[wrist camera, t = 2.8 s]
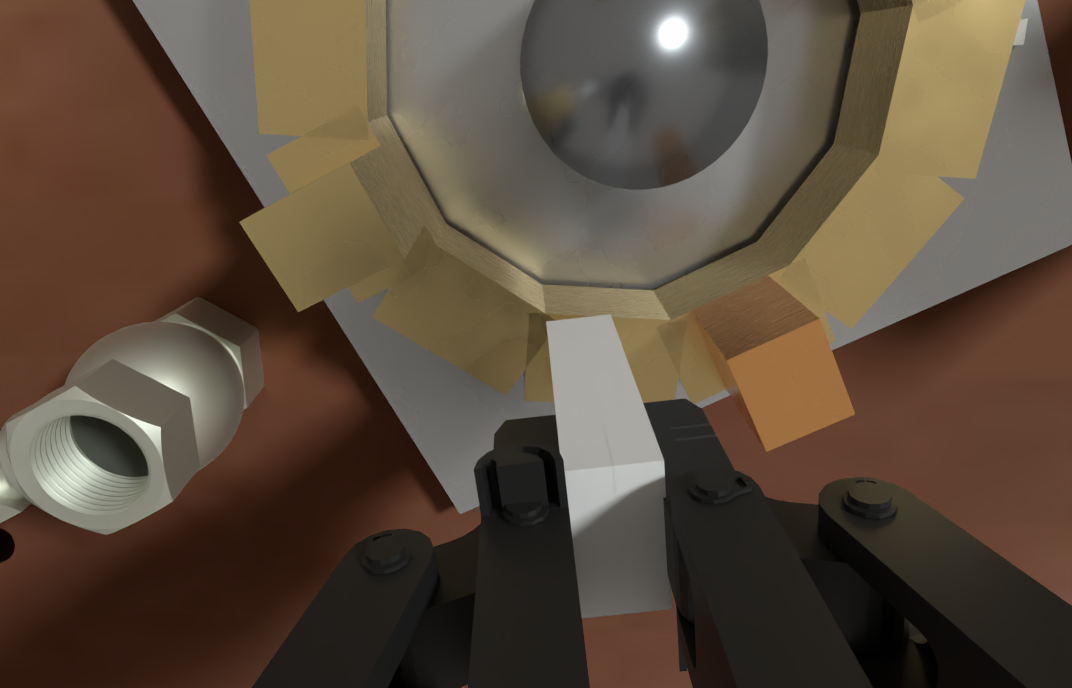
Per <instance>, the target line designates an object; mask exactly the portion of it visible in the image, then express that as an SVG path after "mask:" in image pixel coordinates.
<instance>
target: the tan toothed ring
mask: <svg viewBox="0 0 1072 688" xmlns="http://www.w3.org/2000/svg"><path fill="white" fill-rule="evenodd" d="M1025 1H1026V0H857V2H858V6H859V9H860V12H861V14H860V19H859V24H858V29H857V34H856V39H855V43H854V48H853V53H852V58H851V63H850V68H849V72H848V77H847V82H846V87H845V92H844V97H843V102H842V106H841V111H840V116H839V121H838V126H837V131H836V135H835V140H834V144H833V145H832V147H831V148H830V149H829V151H828V152H827V153H826V154H825V156H824V157H823V158H822V159H821V161H820V162H819V163H818V165H817V166H816V167H815V168H814V170H813V171H812V172H811V174H810V175H809V176H808V177H807V179H806V180H805V181H804V182H803V184H802V185H801V186H800V188H799V189H798V190H797V191H796V193H795V194H794V195H793V197H792V198H791V199H790V200H789V202H788V203H787V204H786V206H785V207H784V208H783V209H782V211H781V212H780V213H779V214H778V216H777V217H776V218H775V220H774V221H773V222H772V223H771V225H770V226H769V227H768V229H767V230H766V231H765V232H764V234H763V235H762V236H761V237H760V239H759V240H758V241H757V242H755V243H753V244H751V245H749V246H747V247H745V248H743V249H741V250H738V251H736V252H734V253H732V254H730V255H728V256H726V257H724V258H721V259H719V260H717V261H715V262H713V263H711V264H709V265H707V266H704V267H702V268H700V269H698V270H696V271H694V272H692V273H690V274H687V275H685V276H683V277H681V278H679V279H677V280H675V281H673V282H670V283H668V284H666V285H664V286H662V287H660V288H658V289H656V290H653V291H652V290H633V289H615V288H596V287H578V286H560V285H542V284H541V283H539V282H538V281H536V280H534V279H533V278H531V277H530V276H528V275H527V274H525V273H523V272H522V271H520V270H519V269H517V268H516V267H514V266H512V265H511V264H509V263H508V262H506V261H505V260H503V259H501V258H500V257H498V256H497V255H495V254H494V253H492V252H490V251H489V250H487V249H486V248H484V247H483V246H481V245H479V244H478V243H476V242H475V241H473V240H471V239H470V238H468V237H467V236H465V235H464V234H462V233H460V232H459V231H457V230H456V229H454V228H453V227H451V226H449V225H448V224H446V222H445V220H444V218H443V217H442V215H441V213H440V211H439V209H438V208H437V206H436V204H435V202H434V200H433V198H432V197H431V195H430V193H429V191H428V189H427V187H426V186H425V184H424V182H423V180H422V178H421V176H420V175H419V173H418V171H417V169H416V167H415V165H414V164H413V162H412V160H411V158H410V156H409V155H408V153H407V151H406V149H405V147H404V145H403V144H402V142H401V140H400V138H399V136H398V134H397V133H396V131H395V129H394V127H393V125H392V123H391V122H390V120H389V118H388V116H387V75H386V0H249V3H250V17H251V30H252V44H253V58H254V71H255V85H256V99H257V112H258V126H259V134H271V135H287V136H301V137H299V138H297V139H295V140H294V141H292V142H290V143H288V144H286V145H284V146H283V147H281V148H279V149H277V150H275V151H273V152H271V153H270V154H268V155H266V156H267V158H268V159H269V161H270V162H271V164H272V166H273V167H274V169H275V171H276V172H277V174H278V175H279V177H280V179H281V180H282V182H283V183H284V185H285V187H286V188H287V190H288V192H289V193H290V194H288V195H286V196H285V197H283V198H281V199H279V200H277V201H276V202H274V203H272V204H270V205H268V206H267V207H265V208H263V209H261V210H259V211H258V212H256V213H254V214H252V215H250V216H249V217H247V218H245V219H243V220H242V221H240V222H239V223H240V224H241V226H242V227H243V229H244V230H245V232H246V233H247V235H248V237H249V238H250V240H251V241H252V243H253V244H254V246H255V247H256V249H257V250H258V252H259V253H260V255H261V256H262V258H263V259H264V261H265V262H266V264H267V265H268V267H269V269H270V270H271V272H272V273H273V275H274V276H275V278H276V279H277V281H278V282H279V284H280V285H281V287H282V288H283V290H284V291H285V293H286V294H287V296H288V298H289V299H290V301H291V302H292V304H293V305H294V307H295V308H296V310H297V311H298V312H300V311H302V310H304V309H306V308H308V307H310V306H312V305H314V304H316V303H318V302H320V301H322V300H324V299H326V298H328V297H330V296H332V295H334V294H336V293H338V292H340V291H342V290H344V289H346V288H349V290H350V292H351V293H352V295H353V296H354V298H355V300H356V301H357V303H359V302H361V301H363V300H365V299H367V298H369V297H371V296H373V295H375V294H377V293H379V292H381V291H383V290H385V289H387V288H389V289H388V291H387V292H386V294H385V296H384V297H383V299H382V301H381V303H380V304H379V306H378V308H377V310H376V311H375V313H374V315H373V316H372V317H373V318H375V319H376V320H378V321H380V322H381V323H383V324H385V325H387V326H388V327H390V328H392V329H393V330H395V331H397V332H398V333H400V334H402V335H404V336H405V337H407V338H409V339H410V340H412V341H414V342H415V343H417V344H419V345H421V346H422V347H424V348H426V349H427V350H429V351H431V352H433V353H434V354H436V355H438V356H439V357H441V358H443V359H444V360H446V361H448V362H450V363H451V364H453V365H455V366H456V367H458V368H460V369H462V370H463V371H465V372H467V373H468V374H470V375H472V376H473V377H475V378H477V379H479V380H480V381H482V382H484V383H485V384H487V385H489V386H491V387H492V388H494V389H496V390H497V391H499V392H501V393H502V394H504V395H507V394H508V393H509V391H510V390H511V388H512V387H513V386H514V384H515V383H516V381H517V380H518V379H519V377H520V376H521V374H522V373H523V380H524V401H536V402H554V393H553V383H552V373H551V364H550V354H549V345H548V335H547V325H546V322H547V321H556V320H564V319H573V318H582V317H591V316H600V315H608V314H611V317H612V320H613V322H614V325H615V328H616V331H617V333H618V336H619V339H620V341H621V344H622V347H623V350H624V352H625V355H626V358H627V361H628V363H629V366H630V369H631V371H632V374H633V377H634V380H635V382H636V385H637V388H638V391H639V393H640V396H641V399H642V401H643V403H647V402H656V401H665V400H674V399H675V396H676V389H677V383H678V378H679V380H680V382H681V384H682V386H683V388H684V390H685V392H686V394H687V396H688V398H689V400H690V402H692V403H693V404H695V403H697V402H699V401H701V400H704V399H706V398H708V397H710V396H713V395H715V394H717V393H719V392H722V391H724V390H727V392H728V393H729V395H730V396H731V398H732V399H733V401H734V402H735V404H736V406H737V407H738V409H739V410H740V412H741V413H742V415H743V416H744V418H745V420H746V421H747V423H748V424H749V426H750V427H751V429H752V430H753V432H754V433H755V435H756V437H757V438H758V440H759V441H760V443H761V444H762V446H763V447H764V449H765V451H766V452H767V451H770V450H772V449H774V448H777V447H779V446H781V445H784V444H786V443H789V442H791V441H793V440H796V439H798V438H800V437H803V436H805V435H807V434H810V433H812V432H814V431H817V430H819V429H821V428H824V427H826V426H828V425H831V424H833V423H836V422H838V421H840V420H843V419H845V418H847V417H850V416H852V415H854V414H855V412H854V410H853V407H852V404H851V401H850V399H849V396H848V393H847V391H846V388H845V385H844V383H843V380H842V377H841V374H840V372H839V369H838V366H837V364H836V361H835V358H834V355H833V353H832V350H831V347H830V345H829V344H830V343H833V342H835V338H834V336H833V333H832V330H831V327H830V325H829V322H828V319H827V316H826V314H825V311H826V312H828V313H829V314H831V315H832V316H833V317H835V318H836V319H838V320H839V321H841V322H842V323H843V324H845V325H846V326H848V327H849V328H851V329H852V328H853V327H854V326H855V325H856V324H857V322H858V321H859V320H860V319H861V318H862V317H863V315H864V314H865V313H866V312H867V311H868V310H869V309H870V307H871V306H872V305H873V304H874V303H875V302H876V300H877V299H878V298H879V297H880V296H881V295H882V294H883V292H884V291H885V290H886V289H887V288H888V287H889V285H890V284H891V283H892V282H893V281H894V280H895V278H896V277H897V276H898V275H899V274H900V273H901V272H902V270H903V269H904V268H905V267H906V266H907V265H908V263H909V262H910V261H911V260H912V259H913V258H914V257H915V255H916V254H917V253H918V252H919V251H920V250H921V248H922V247H923V246H924V245H925V244H926V243H927V242H928V240H929V239H930V238H931V237H932V236H933V235H934V233H935V232H936V231H937V230H938V229H939V228H940V227H941V225H942V224H943V223H944V222H945V221H946V220H947V218H948V217H949V216H950V215H951V214H952V213H953V212H954V210H955V209H956V208H957V207H958V206H959V205H960V203H961V202H962V201H963V200H964V199H965V198H964V197H963V196H961V195H960V194H959V193H957V192H956V191H955V190H954V189H952V188H951V187H950V186H949V185H947V184H946V183H945V182H944V181H942V180H941V179H940V178H939V177H954V178H970V179H976V175H977V172H978V168H979V165H980V161H981V158H982V154H983V150H984V147H985V143H986V140H987V136H988V133H989V129H990V126H991V122H992V118H993V115H994V111H995V108H996V104H997V101H998V97H999V93H1000V90H1001V86H1002V83H1003V79H1004V76H1005V72H1006V69H1007V65H1008V61H1009V58H1010V54H1011V51H1012V47H1013V44H1014V40H1015V36H1016V33H1017V29H1018V26H1019V22H1020V19H1021V15H1022V11H1023V8H1024V4H1025ZM937 176H938V177H937ZM824 310H825V311H824Z"/></svg>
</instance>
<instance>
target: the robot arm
mask: <svg viewBox="0 0 1072 688" xmlns="http://www.w3.org/2000/svg"><path fill="white" fill-rule="evenodd" d="M546 325H547V335H548V345H549V354H550V364H551V373H552V383H553V393H554V402H555V412H556V415H547V416H538V417H529V418H520V419H511V420H505V422H504V423H503V424H502V425H501V426H500V428H499V429H498V430H497V431H496V433H495V434H494V446H493V450H491V451H489V452H487V453H486V454H485V455H484V456H482V457H481V458H480V459H479V460H478V461H477V463H476V465H475V467H474V475H475V481H476V487H477V493H478V499H479V505H480V511H481V524H480V525H479V526H478V527H476V528H475V529H474V530H473V531H471V532H469V533H468V534H466V535H465V536H463V537H460V538H458V539H455V540H453V541H450V542H447V543H444V544H441V545H438V546H435V547H433V545H432V543H431V540H430V538H429V537H427V536H426V535H424V534H423V533H421V532H419V531H414V530H409V529H396V530H387V531H383V532H381V533H377V534H374V535H371V536H369V537H367V538H366V539H364V540H362V541H361V542H359V543H357V544H356V545H355V546H354V547H353V548H352V549H351V550H350V551H349V552H348V553H347V554H346V555H345V556H344V557H343V559H342V560H341V561H340V563H339V564H338V566H337V567H336V569H335V570H334V571H333V573H332V574H331V576H330V577H329V579H328V580H327V581H326V583H325V584H324V586H323V587H322V589H321V590H320V591H319V593H318V594H317V596H316V597H315V598H314V600H313V601H312V603H311V604H310V606H309V607H308V608H307V610H306V611H305V613H304V614H303V616H302V617H301V618H300V620H299V621H298V623H297V624H296V626H295V627H294V628H293V630H292V631H291V633H290V634H289V635H288V637H287V638H286V640H285V641H284V643H283V644H282V645H281V647H280V648H279V650H278V651H277V653H276V654H275V655H274V657H273V658H272V660H271V661H270V663H269V664H268V665H267V667H266V668H265V670H264V671H263V672H262V674H261V675H260V677H259V678H258V680H257V681H256V682H255V684H254V685H253V687H252V688H461V687H462V686H465V685H467V684H468V688H590V686H589V677H588V669H587V660H586V651H585V643H584V634H583V626H582V618H589V617H599V616H609V615H618V614H628V613H637V612H647V611H656V610H666V609H672V597H671V588H672V592H673V595H674V599H675V602H676V607H677V626H678V646H679V665H680V671H687V668H688V672H689V675H690V679H691V683H692V686H693V688H1072V606H1071V605H1070V604H1068V603H1067V602H1065V601H1064V600H1062V599H1061V598H1060V597H1058V596H1057V595H1055V594H1054V593H1053V592H1051V591H1050V590H1048V589H1047V588H1045V587H1044V586H1043V585H1041V584H1040V583H1038V582H1037V581H1036V580H1034V579H1033V578H1031V577H1030V576H1028V575H1027V574H1026V573H1024V572H1023V571H1021V570H1020V569H1018V568H1017V567H1016V566H1014V565H1013V564H1011V563H1010V562H1009V561H1007V560H1006V559H1004V558H1003V557H1001V556H1000V555H999V554H997V553H996V552H994V551H993V550H992V549H990V548H989V547H987V546H986V545H984V544H983V543H982V542H980V541H979V540H977V539H976V538H974V537H973V536H972V535H970V534H969V533H967V532H966V531H965V530H963V529H962V528H960V527H959V526H957V525H956V524H955V523H953V522H952V521H950V520H949V519H947V518H946V517H945V516H943V515H942V514H940V513H939V512H938V511H936V510H935V509H933V508H932V507H930V506H929V505H928V504H926V503H925V502H923V501H922V500H921V499H919V498H918V497H916V496H915V495H913V494H912V493H911V492H909V491H907V490H905V489H903V488H901V487H899V486H897V485H895V484H893V483H890V482H886V481H882V480H878V479H875V478H867V477H866V478H864V477H853V478H846V479H839V480H836V481H834V482H832V483H830V484H827V485H826V486H825V487H824V488H823V489H822V490H821V492H820V493H819V505H814V504H803V503H792V502H785V501H779V500H774V499H771V498H768V497H765V496H764V494H763V492H762V490H761V489H760V487H759V485H758V484H757V483H756V482H755V481H754V480H753V479H752V478H751V477H749V476H747V475H745V474H743V473H741V472H739V471H735V470H734V468H733V466H732V464H731V462H730V460H729V459H728V457H727V455H726V453H725V451H724V449H723V447H722V445H721V444H720V442H719V440H718V438H717V437H716V435H715V432H714V430H713V429H712V427H711V425H710V424H709V421H708V419H707V417H706V415H705V413H704V412H703V410H702V409H701V408H700V407H698V406H697V405H695V404H693V403H692V402H690V401H689V400H687V399H685V398H684V399H674V400H665V401H656V402H647V403H643V401H642V399H641V396H640V393H639V391H638V388H637V385H636V382H635V380H634V377H633V374H632V371H631V369H630V366H629V363H628V361H627V358H626V355H625V352H624V350H623V347H622V344H621V341H620V339H619V336H618V333H617V331H616V328H615V325H614V322H613V320H612V317H611V314H608V315H600V316H591V317H582V318H573V319H564V320H556V321H547V322H546ZM913 625H914V626H913Z"/></svg>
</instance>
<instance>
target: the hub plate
mask: <svg viewBox="0 0 1072 688" xmlns="http://www.w3.org/2000/svg"><path fill="white" fill-rule="evenodd" d="M133 2H134V3H135V5H136V6H137V8H138V10H139V11H140V13H141V14H142V16H143V17H144V19H145V21H146V22H147V24H148V25H149V27H150V28H151V30H152V32H153V33H154V35H155V36H156V38H157V39H158V41H159V43H160V44H161V46H162V47H163V49H164V50H165V52H166V53H167V55H168V57H169V58H170V60H171V61H172V63H173V64H174V66H175V68H176V69H177V71H178V72H179V74H180V75H181V77H182V79H183V80H184V82H185V83H186V85H187V86H188V88H189V90H190V91H191V93H192V94H193V96H194V97H195V99H196V101H197V102H198V104H199V105H200V107H201V108H202V110H203V112H204V113H205V115H206V116H207V118H208V119H209V121H210V123H211V124H212V126H213V127H214V129H215V130H216V132H217V134H218V135H219V137H220V138H221V140H222V141H223V143H224V144H225V146H226V148H227V149H228V151H229V152H230V154H231V155H232V157H233V159H234V160H235V162H236V163H237V165H238V166H239V168H240V170H241V171H242V173H243V174H244V176H245V177H246V179H247V181H248V182H249V184H250V185H251V187H252V188H253V190H254V192H255V193H256V195H257V196H258V198H259V199H260V201H261V203H262V204H263V206H264V207H267V206H268V205H270V204H272V203H274V202H276V201H277V200H279V199H281V198H283V197H285V196H286V195H288V194H290V193H289V192H288V190H287V188H286V187H285V185H284V183H283V182H282V180H281V179H280V177H279V175H278V174H277V172H276V171H275V169H274V167H273V166H272V164H271V162H270V161H269V159H268V158H267V156H266V155H268V154H270V153H271V152H273V151H275V150H277V149H279V148H281V147H283V146H284V145H286V144H288V143H290V142H292V141H294V140H295V139H297V138H299V137H301V136H287V135H271V134H259V126H258V112H257V99H256V85H255V71H254V58H253V44H252V30H251V17H250V3H249V0H133ZM860 14H861V12H860V9H859V6H858V2H857V0H386V75H387V116H388V118H389V120H390V122H391V123H392V125H393V127H394V129H395V131H396V133H397V134H398V136H399V138H400V140H401V142H402V144H403V145H404V147H405V149H406V151H407V153H408V155H409V156H410V158H411V160H412V162H413V164H414V165H415V167H416V169H417V171H418V173H419V175H420V176H421V178H422V180H423V182H424V184H425V186H426V187H427V189H428V191H429V193H430V195H431V197H432V198H433V200H434V202H435V204H436V206H437V208H438V209H439V211H440V213H441V215H442V217H443V218H444V220H445V222H446V224H448V225H449V226H451V227H453V228H454V229H456V230H457V231H459V232H460V233H462V234H464V235H465V236H467V237H468V238H470V239H471V240H473V241H475V242H476V243H478V244H479V245H481V246H483V247H484V248H486V249H487V250H489V251H490V252H492V253H494V254H495V255H497V256H498V257H500V258H501V259H503V260H505V261H506V262H508V263H509V264H511V265H512V266H514V267H516V268H517V269H519V270H520V271H522V272H523V273H525V274H527V275H528V276H530V277H531V278H533V279H534V280H536V281H538V282H539V283H541V284H542V285H560V286H578V287H596V288H615V289H633V290H652V291H653V290H656V289H658V288H660V287H662V286H664V285H666V284H668V283H670V282H673V281H675V280H677V279H679V278H681V277H683V276H685V275H687V274H690V273H692V272H694V271H696V270H698V269H700V268H702V267H704V266H707V265H709V264H711V263H713V262H715V261H717V260H719V259H721V258H724V257H726V256H728V255H730V254H732V253H734V252H736V251H738V250H741V249H743V248H745V247H747V246H749V245H751V244H753V243H755V242H757V241H758V240H759V239H760V237H761V236H762V235H763V234H764V232H765V231H766V230H767V229H768V227H769V226H770V225H771V223H772V222H773V221H774V220H775V218H776V217H777V216H778V214H779V213H780V212H781V211H782V209H783V208H784V207H785V206H786V204H787V203H788V202H789V200H790V199H791V198H792V197H793V195H794V194H795V193H796V191H797V190H798V189H799V188H800V186H801V185H802V184H803V182H804V181H805V180H806V179H807V177H808V176H809V175H810V174H811V172H812V171H813V170H814V168H815V167H816V166H817V165H818V163H819V162H820V161H821V159H822V158H823V157H824V156H825V154H826V153H827V152H828V151H829V149H830V148H831V147H832V145H833V144H834V140H835V135H836V131H837V126H838V121H839V116H840V111H841V106H842V102H843V97H844V92H845V87H846V82H847V77H848V72H849V68H850V63H851V58H852V53H853V48H854V43H855V39H856V34H857V29H858V24H859V19H860ZM937 177H938V176H937ZM939 178H940V179H941V180H942V181H944V182H945V183H946V184H947V185H949V186H950V187H951V188H952V189H954V190H955V191H956V192H957V193H959V194H960V195H961V196H963V197H964V198H965V199H964V200H963V201H962V202H961V203H960V205H959V206H958V207H957V208H956V209H955V210H954V212H953V213H952V214H951V215H950V216H949V217H948V218H947V220H946V221H945V222H944V223H943V224H942V225H941V227H940V228H939V229H938V230H937V231H936V232H935V233H934V235H933V236H932V237H931V238H930V239H929V240H928V242H927V243H926V244H925V245H924V246H923V247H922V248H921V250H920V251H919V252H918V253H917V254H916V255H915V257H914V258H913V259H912V260H911V261H910V262H909V263H908V265H907V266H906V267H905V268H904V269H903V270H902V272H901V273H900V274H899V275H898V276H897V277H896V278H895V280H894V281H893V282H892V283H891V284H890V285H889V287H888V288H887V289H886V290H885V291H884V292H883V294H882V295H881V296H880V297H879V298H878V299H877V300H876V302H875V303H874V304H873V305H872V306H871V307H870V309H869V310H868V311H867V312H866V313H865V314H864V315H863V317H862V318H861V319H860V320H859V321H858V322H857V324H856V325H855V326H854V327H853V328H852V329H851V328H849V327H848V326H846V325H845V324H843V323H842V322H841V321H839V320H838V319H836V318H835V317H833V316H832V315H831V314H829V313H828V312H826V311H825V310H824V311H825V314H826V316H827V319H828V322H829V325H830V327H831V330H832V333H833V336H834V338H835V342H833V343H830V344H829V345H830V347H831V350H834V349H836V348H839V347H841V346H843V345H845V344H848V343H850V342H852V341H854V340H857V339H859V338H861V337H864V336H866V335H868V334H870V333H873V332H875V331H877V330H879V329H882V328H884V327H886V326H889V325H891V324H893V323H895V322H898V321H900V320H902V319H904V318H907V317H909V316H911V315H913V314H916V313H918V312H920V311H923V310H925V309H927V308H929V307H932V306H934V305H936V304H938V303H941V302H943V301H945V300H948V299H950V298H952V297H954V296H957V295H959V294H961V293H963V292H966V291H968V290H970V289H972V288H975V287H977V286H979V285H982V284H984V283H986V282H988V281H991V280H993V279H995V278H997V277H1000V276H1002V275H1004V274H1007V273H1009V272H1011V271H1013V270H1016V269H1018V268H1020V267H1022V266H1025V265H1027V264H1029V263H1032V262H1034V261H1036V260H1038V259H1041V258H1043V257H1045V256H1047V255H1050V254H1052V253H1054V252H1056V251H1059V250H1061V249H1063V248H1066V247H1068V246H1070V245H1072V162H1071V157H1070V153H1069V148H1068V143H1067V138H1066V134H1065V129H1064V124H1063V120H1062V115H1061V110H1060V105H1059V101H1058V96H1057V91H1056V86H1055V82H1054V77H1053V72H1052V68H1051V63H1050V58H1049V53H1048V49H1047V44H1046V39H1045V34H1044V30H1043V25H1042V20H1041V16H1040V11H1039V6H1038V1H1037V0H1026V1H1025V4H1024V8H1023V11H1022V15H1021V19H1020V22H1019V26H1018V29H1017V33H1016V36H1015V40H1014V44H1013V47H1012V51H1011V54H1010V58H1009V61H1008V65H1007V69H1006V72H1005V76H1004V79H1003V83H1002V86H1001V90H1000V93H999V97H998V101H997V104H996V108H995V111H994V115H993V118H992V122H991V126H990V129H989V133H988V136H987V140H986V143H985V147H984V150H983V154H982V158H981V161H980V165H979V168H978V172H977V175H976V179H970V178H954V177H939ZM388 289H389V288H387V289H385V290H383V291H381V292H379V293H377V294H375V295H373V296H371V297H369V298H367V299H365V300H363V301H361V302H359V303H357V301H356V300H355V298H354V296H353V295H352V293H351V292H350V290H349V288H346V289H344V290H342V291H340V292H338V293H336V294H334V295H332V296H330V297H328V298H326V299H324V301H325V303H326V305H327V306H328V308H329V309H330V311H331V312H332V314H333V315H334V317H335V319H336V320H337V322H338V323H339V325H340V326H341V328H342V330H343V331H344V333H345V334H346V336H347V337H348V339H349V341H350V342H351V344H352V345H353V347H354V348H355V350H356V352H357V353H358V355H359V356H360V358H361V359H362V361H363V363H364V364H365V366H366V367H367V369H368V370H369V372H370V374H371V375H372V377H373V378H374V380H375V381H376V383H377V385H378V386H379V388H380V389H381V391H382V392H383V394H384V396H385V397H386V399H387V400H388V402H389V403H390V405H391V406H392V408H393V410H394V411H395V413H396V414H397V416H398V417H399V419H400V421H401V422H402V424H403V425H404V427H405V428H406V430H407V432H408V433H409V435H410V436H411V438H412V439H413V441H414V443H415V444H416V446H417V447H418V449H419V450H420V452H421V454H422V455H423V457H424V458H425V460H426V461H427V463H428V465H429V466H430V468H431V469H432V471H433V472H434V474H435V476H436V477H437V479H438V480H439V482H440V483H441V485H442V487H443V488H444V490H445V491H446V493H447V494H448V496H449V497H450V499H451V501H452V502H453V504H454V505H455V507H456V508H457V510H458V512H459V513H460V514H462V513H464V512H466V511H469V510H471V509H473V508H475V507H478V506H480V505H479V499H478V493H477V487H476V481H475V475H474V467H475V465H476V463H477V461H478V460H479V459H480V458H481V457H482V456H484V455H485V454H486V453H487V452H489V451H491V450H493V446H494V434H495V433H496V431H497V430H498V429H499V428H500V426H501V425H502V424H503V423H504V422H505V420H511V419H520V418H529V417H538V416H547V415H556V412H555V402H536V401H524V380H523V373H522V374H521V376H520V377H519V379H518V380H517V381H516V383H515V384H514V386H513V387H512V388H511V390H510V391H509V393H508V394H507V395H504V394H502V393H501V392H499V391H497V390H496V389H494V388H492V387H491V386H489V385H487V384H485V383H484V382H482V381H480V380H479V379H477V378H475V377H473V376H472V375H470V374H468V373H467V372H465V371H463V370H462V369H460V368H458V367H456V366H455V365H453V364H451V363H450V362H448V361H446V360H444V359H443V358H441V357H439V356H438V355H436V354H434V353H433V352H431V351H429V350H427V349H426V348H424V347H422V346H421V345H419V344H417V343H415V342H414V341H412V340H410V339H409V338H407V337H405V336H404V335H402V334H400V333H398V332H397V331H395V330H393V329H392V328H390V327H388V326H387V325H385V324H383V323H381V322H380V321H378V320H376V319H375V318H373V317H372V316H373V315H374V313H375V311H376V310H377V308H378V306H379V304H380V303H381V301H382V299H383V297H384V296H385V294H386V292H387V291H388ZM727 396H730V395H729V393H728V392H727V390H724V391H722V392H719V393H717V394H715V395H713V396H710V397H708V398H706V399H704V400H701V401H699V402H697V403H695V405H697V406H698V407H700V408H702V407H705V406H707V405H709V404H711V403H714V402H716V401H718V400H721V399H723V398H725V397H727ZM684 398H685V399H687V400H689V398H688V396H687V394H686V392H685V390H684V388H683V386H682V384H681V382H680V380H679V378H678V383H677V389H676V396H675V399H684ZM689 401H690V400H689Z"/></svg>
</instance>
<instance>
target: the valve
mask: <svg viewBox="0 0 1072 688" xmlns="http://www.w3.org/2000/svg"><path fill="white" fill-rule="evenodd" d="M263 387H264V377H263V368H262V359H261V349H260V340H259V331H258V329H257V328H256V327H255V326H253V325H251V324H249V323H247V322H245V321H243V320H242V319H240V318H238V317H236V316H234V315H232V314H230V313H228V312H227V311H225V310H223V309H221V308H219V307H217V306H215V305H214V304H212V303H210V302H208V301H206V300H204V299H202V298H200V297H197V298H195V299H193V300H191V301H190V302H188V303H186V304H184V305H182V306H181V307H179V308H177V309H175V310H173V311H172V312H170V313H168V314H166V315H164V316H163V317H161V318H159V319H157V320H155V321H153V322H145V323H139V324H135V325H131V326H127V327H124V328H121V329H119V330H117V331H115V332H113V333H111V334H109V335H107V336H105V337H103V338H102V339H100V340H99V341H97V342H96V343H95V344H93V345H92V346H91V347H90V348H89V349H88V350H87V351H86V352H85V353H84V354H83V355H82V356H81V357H80V358H79V359H78V361H77V362H76V363H75V365H74V366H73V368H72V369H71V371H70V373H69V375H68V377H67V379H66V382H65V384H64V386H62V387H60V388H58V389H57V390H55V391H53V392H51V393H49V394H48V395H46V396H45V397H43V398H42V399H40V400H39V401H38V402H36V403H34V404H32V405H30V406H29V407H27V408H25V409H23V410H21V411H19V412H18V413H16V414H14V415H13V416H11V417H10V418H9V419H8V420H7V421H6V422H5V424H4V426H3V427H2V429H1V431H0V523H1V522H3V521H5V520H7V519H9V518H11V517H13V516H15V515H17V514H18V513H20V512H22V511H23V510H24V509H25V508H27V507H28V506H29V505H30V504H31V503H32V504H34V505H35V506H37V507H38V508H40V509H41V510H43V511H45V512H47V513H49V514H51V515H52V516H54V517H56V518H58V519H60V520H62V521H65V522H67V523H70V524H73V525H75V526H78V527H81V528H83V529H87V530H90V531H93V532H97V533H101V534H105V535H108V534H110V533H113V532H116V531H118V530H120V529H123V528H125V527H127V526H129V525H131V524H133V523H135V522H137V521H139V520H141V519H143V518H145V517H147V516H149V515H151V514H152V513H154V512H156V511H158V510H159V509H161V508H163V507H165V506H166V505H168V504H170V503H171V502H173V501H174V500H175V498H176V497H177V496H178V495H179V493H180V492H181V491H182V489H183V488H184V487H185V486H186V484H187V483H188V482H189V481H190V479H191V478H192V477H193V476H194V474H195V473H196V472H197V471H199V470H200V469H202V468H204V467H205V466H207V465H208V464H209V463H211V462H212V461H213V460H214V459H215V458H216V457H217V456H218V455H220V454H221V453H222V451H223V450H224V449H225V448H226V447H227V445H228V444H229V443H230V441H231V440H232V438H233V436H234V435H235V433H236V431H237V429H238V426H239V424H240V421H241V418H242V414H243V410H244V409H246V408H247V407H248V406H249V405H250V404H251V402H252V401H253V400H254V398H255V397H256V396H257V395H258V393H259V392H260V391H261V390H262V388H263ZM14 549H15V544H14V540H13V538H12V536H11V535H10V534H9V533H8V532H7V531H5V530H3V529H0V563H2V562H4V561H6V560H8V559H9V558H10V557H11V556H12V554H13V552H14Z"/></svg>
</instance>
